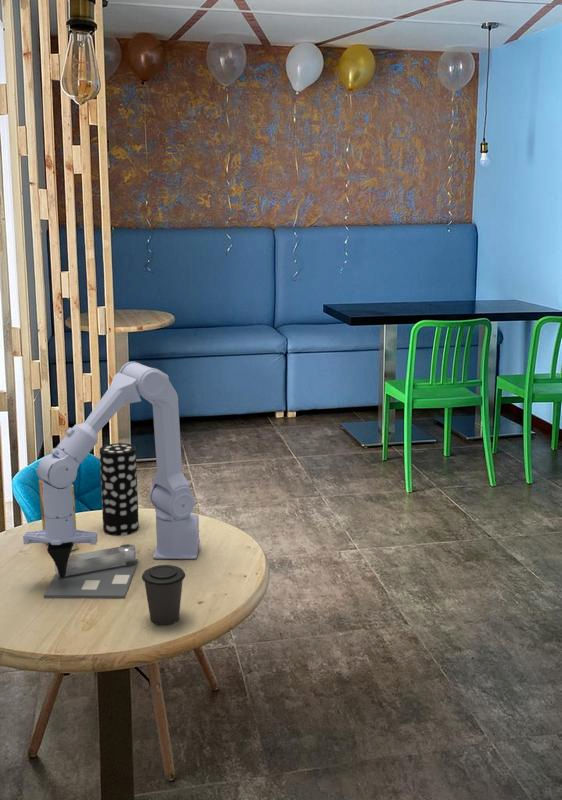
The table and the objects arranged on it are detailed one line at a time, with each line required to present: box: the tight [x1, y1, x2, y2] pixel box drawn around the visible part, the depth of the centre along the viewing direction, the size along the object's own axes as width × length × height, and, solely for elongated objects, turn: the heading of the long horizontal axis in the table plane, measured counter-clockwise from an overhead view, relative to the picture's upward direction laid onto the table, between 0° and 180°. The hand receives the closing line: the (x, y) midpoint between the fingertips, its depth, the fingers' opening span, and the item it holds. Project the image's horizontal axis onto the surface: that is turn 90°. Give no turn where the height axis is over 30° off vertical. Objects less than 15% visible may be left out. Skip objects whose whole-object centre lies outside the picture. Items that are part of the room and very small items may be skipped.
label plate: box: [43, 558, 139, 599], centre depth 177 cm, size 16×17×1 cm
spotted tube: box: [99, 442, 140, 537], centre depth 200 cm, size 8×8×20 cm
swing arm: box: [54, 543, 137, 577], centre depth 180 cm, size 17×4×3 cm, turn 115°
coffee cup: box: [141, 564, 186, 627], centre depth 160 cm, size 8×8×10 cm
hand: (62, 575), depth 174 cm, fingers closed
